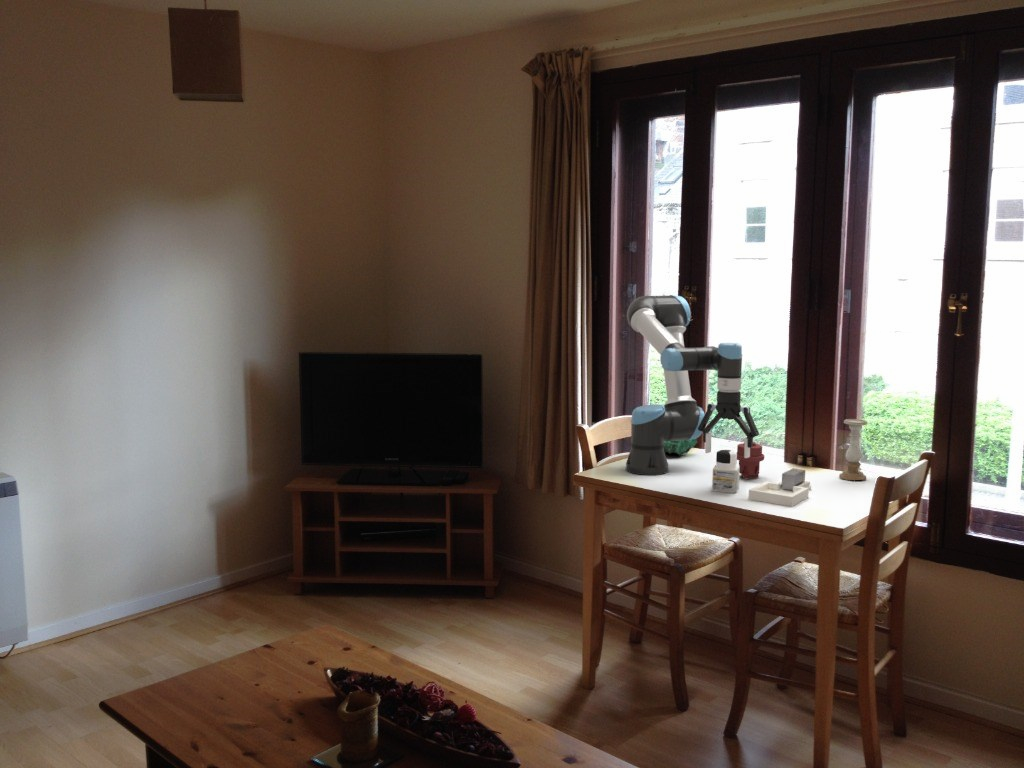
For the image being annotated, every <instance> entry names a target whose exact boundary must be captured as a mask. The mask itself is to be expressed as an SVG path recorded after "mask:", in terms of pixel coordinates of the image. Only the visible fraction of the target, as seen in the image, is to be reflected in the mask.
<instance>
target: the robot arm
mask: <svg viewBox="0 0 1024 768" xmlns="http://www.w3.org/2000/svg"><path fill="white" fill-rule="evenodd" d="M691 315H692V314H691V308H690V305H689V303H688V301H687V300H686V299H685V298H684V297H683V296H681V295H673V294H669V295H643V296H639V297H637V298H636V299H633V301H632V302H631V303H630V304H629V306H628V307H627V312H626V319H627V322H628V325H629V326H630V327H631V328H632V329H633V330H634V331H635V332H636V333H640V334H641V335H642V336H643V338H644V339H646V341H647V342H648V343H649V344H650V345H651V346H652V347H653V349H655V351H656V352H657V353H659V355H660V357H659V358H660V360H659V361H660V365H661V368H662V369H663V374H664V382H665V389H666V390H665V391H666V398H667V400H666V402H665V403H664V404H645V405H640V406H637V407H636V408H634V409H633V410H632V411H631V412H632V413H631V421H630V423H631V429H630V431H631V432H630V433H631V434H630V436H631V437H630V440H631V441H630V443H631V444H630V451H629V454H628V456H627V460H626V462H625V470H626V471H627V472H629V473H632V474H636V475H643V476H644V475H646V476H649V475H650V476H655V475H657V476H658V475H664V474H667V473H668V472H669V462H668V459H667V457H666V453H665V452H664V441H672V440H689V439H696V440H697V439H698V438H700V436H701V435H702V436H703V437H702V438H703V439H702V441H703V443H705V445H704V446H705V450H704V451H705V454H709V453H712V432H711V430H712V429H713V428H714V426H716V425H717V423H719V421H720V420H721V419H722V420H726V419H727V420H730V421H732V420H734V421H735V422H736V424H737V425H738V426H739V428H740V429H741V430H742V432H743V433H744V434H745V436H746V437H744V442H745V448H744V458H748V457H750V448H751V447H752V446H753V442H754V437H758V436H759V435H760V433H759V431H758V428H757V425H756V423H755V421H754V418H753V416H752V414H751V407H750V406H745V407H742V406H741V401H742V400H741V399H742V397H741V395H742V392H741V389H742V369H743V368H742V367H743V365H742V364H743V363H742V362H743V354H742V353H743V350H742V345H741V343H738V342H721V343H719V344H718V346H714V345H713V346H712V345H710V346H704V347H685V342H684V333H685V332H686V330H687V326H688V325H689V324H690V322H691ZM711 370H713V371H717V381H716V382H717V383H716V384H717V385H716V386H717V387H716V388H717V390H718V391H716V404H714V403H713V402H712V403H708V404H707V406H706V407H707V409H706V412H704V410H703V408H702V407H700V406H698V404H697V400H695V398H693V397H692V392H691V385H690V384H691V383H690V379H689V378H690V376H689V371H711ZM715 410H716V411H717V413H716V414H715V416H714V417H713V419H711V418H712V417H711V416H712V415H713V414H714V411H715ZM741 412H742V415H743V416H744V418H745V420H744V419H743V417H742V415H741V414H740V413H741ZM710 419H711V421H710ZM709 421H710V422H709ZM745 421H746V422H745ZM708 422H709V423H708ZM746 423H747V424H746Z"/></svg>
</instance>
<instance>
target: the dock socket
mask: <svg viewBox="0 0 1024 768" xmlns="http://www.w3.org/2000/svg"><path fill="white" fill-rule="evenodd" d="M810 482H811V481H806V480H805V482H804V483H802V484H800V485H798V486H794V487H793V490H787V489H782V481H780V482H771V481H764V482H763V483H762V482H761V483H760V484H758V485H756V486H754V487H752V488H750V489H749V490H748V500H751V501H756V502H757V501H758V502H764V503H768V504H769V503H770V504H776V505H782V506H787V507H793V506H795V505H797V504H799V503H801V502H802V501H804V500H806V499H807V498H809V491H810V490H811V489H812V485H811V483H810Z"/></svg>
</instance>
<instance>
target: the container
mask: <svg viewBox="0 0 1024 768" xmlns="http://www.w3.org/2000/svg"><path fill="white" fill-rule="evenodd" d="M715 460H716V461H715V463H716V464H714V466H713V467H712V482H711V483H712V484H711V490H712V492H717V493H718V492H719V493H720V492H721V493H730V494H736V493H737V492H738V489H739V487H740V473H739V469H740V466H739V464H737V462H738V460H737V452H736V451H734V450H731V449H720V450H718V451H717V452H716V458H715Z"/></svg>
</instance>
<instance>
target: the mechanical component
mask: <svg viewBox="0 0 1024 768" xmlns="http://www.w3.org/2000/svg"><path fill="white" fill-rule="evenodd" d="M744 448H745V441H744V443H738V444H737V448H736V449H737V452H736V453H737V461H738V465H739V466H740V469H739V474H740V475H741V476H742V478H743V479H744V480H749V479H759V474H760V462H763V461H764V460H765V455H764V453H763V446H762V444H758V443H756V442H754V441H753V446H752V447H751V448H750V457H748V458H744Z"/></svg>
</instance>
